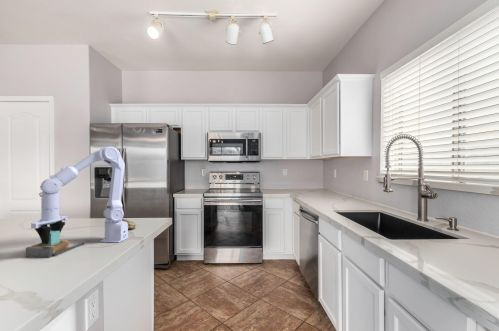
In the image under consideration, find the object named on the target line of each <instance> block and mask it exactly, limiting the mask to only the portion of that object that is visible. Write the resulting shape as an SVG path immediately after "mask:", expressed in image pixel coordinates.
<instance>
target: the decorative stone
mask: <svg viewBox="0 0 499 331" xmlns="http://www.w3.org/2000/svg"><path fill="white" fill-rule="evenodd" d="M122 221H125V222H127V223H128V229H129V230H134V229H136V226H137V225H136V223H135V222H133V221H131V220H128V219H127V220H126V219H125V218H124V219H123V218H122Z"/></svg>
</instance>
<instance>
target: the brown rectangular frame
mask: <svg viewBox="0 0 499 331" xmlns="http://www.w3.org/2000/svg"><path fill="white" fill-rule="evenodd" d="M30 247H53V256H54V253H56V252H59V251H61V250H64V249H66V248H69V247H70V240H61V239H60V243H57V244H54V245H52V246H42V242H40V243H36V244H34V245H31V246H30Z"/></svg>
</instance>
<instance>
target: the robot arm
mask: <svg viewBox="0 0 499 331" xmlns="http://www.w3.org/2000/svg"><path fill="white" fill-rule="evenodd" d="M100 161H102V162H105V163H106V164H108V165H109V166H110V167H111V170H112V171H111V179H110V184H109V185H110V187H109V193H108V194H109V196H108V201H107V203H106V206H105V209H104V210H103V212H102V213H103V217H104V218H105V220H104V239H101V240H100V241H99V242H100V243H121V242H123V241H125V240H126V239H129V230H128V223H127V222H125V221H122V219H123V218H124V216H125V213H124V209H123V203H122V195H123V185H124V176H125V168H126V167H125V166H126V165H125V161H124V159H123V157H122V156H121V152H120V151H119V150H118V149H117V148H116V147H114V146H107V147H101V148H100V149H99V150H94V152H91V153H90V154H89V155H88V156H86V157H85V158H83V159H82V160H80V161H79V162H77V163H76V164H75V165H72V166H66V167H64V166H63V167H61V168H60V171H58V172H56V173H55V174H53V175H50V176H49V178H47V179H44V180H43V181H42V182H41V184H40V186H39V188H40V190H41V191H42V192H41V201H40V204H41V213H40V215H41V216H40V217H41V218H40V219H39V220H37V221H35V222H32V223H30V225H31V226H30V228H31V229H34V231H36V232H37V234H38V236H39V238H40V241H41V243H42V244H48V243H49V235H50V231H60V234H61V233H62V230H63V228H64V227H65V225H66V222H65V221H68V215H60V191H61V189H62V187H65V186H66V185H68V184H70V183H71V182H72V181H73V180H75V179H76V178H78V176H79V173H80V172H81V171H82V170H85V168H88V167H89V166H91V165H92V164H94V163H95V162H100Z"/></svg>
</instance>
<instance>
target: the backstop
mask: <svg viewBox="0 0 499 331" xmlns="http://www.w3.org/2000/svg"><path fill="white" fill-rule="evenodd" d="M83 245H85V241H80V242H79V243H77V244H74V245H72V246H69V248H66V249H64V250H61V251H59V252H56V253H54V255H53V247H31V246H28V247H25V258H46V259H47V258H52V257H58V256H59V255H62V254H65V253H67V252H69V251H71V250H74V249H76V248H79V247H80V246H83Z"/></svg>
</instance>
